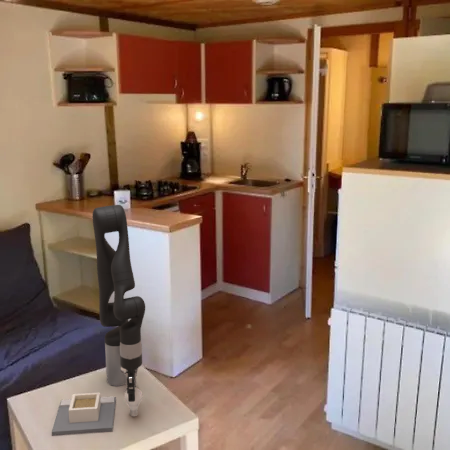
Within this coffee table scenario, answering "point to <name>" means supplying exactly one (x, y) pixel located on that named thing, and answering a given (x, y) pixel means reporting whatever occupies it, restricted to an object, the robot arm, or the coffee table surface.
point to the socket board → (85, 415)
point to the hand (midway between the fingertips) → (132, 394)
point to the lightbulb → (135, 404)
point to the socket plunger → (85, 403)
